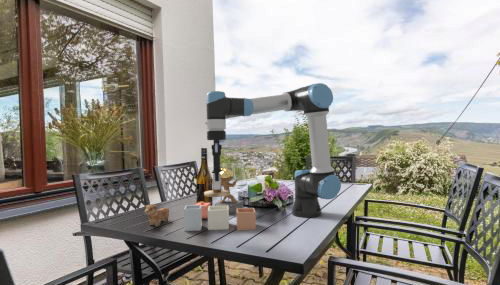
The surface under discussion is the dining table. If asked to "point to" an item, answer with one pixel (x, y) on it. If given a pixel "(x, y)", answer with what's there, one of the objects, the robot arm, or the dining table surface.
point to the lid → (217, 191)
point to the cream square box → (218, 217)
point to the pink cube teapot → (204, 209)
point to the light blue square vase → (192, 217)
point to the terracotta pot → (246, 218)
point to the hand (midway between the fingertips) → (217, 188)
